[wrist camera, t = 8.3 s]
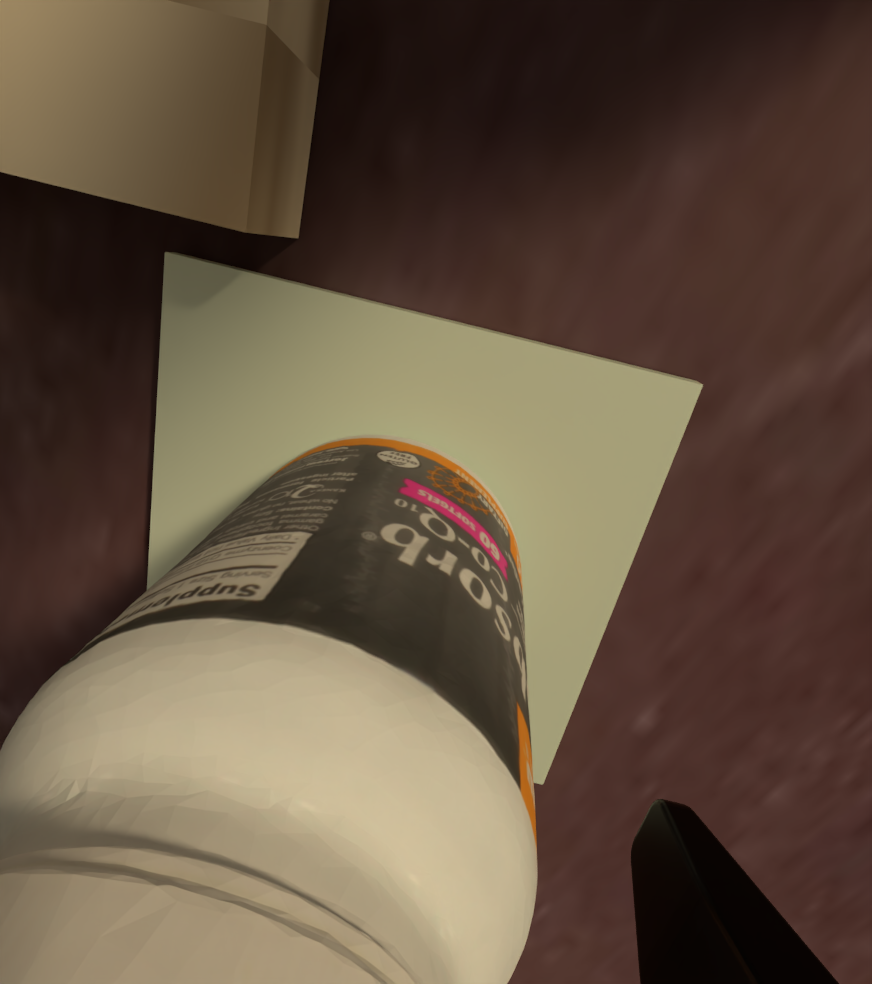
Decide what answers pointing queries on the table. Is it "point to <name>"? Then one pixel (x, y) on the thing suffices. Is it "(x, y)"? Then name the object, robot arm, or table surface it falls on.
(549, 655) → the mat
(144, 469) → the table surface
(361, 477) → the pill bottle
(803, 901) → the table surface
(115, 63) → the pocket holder
